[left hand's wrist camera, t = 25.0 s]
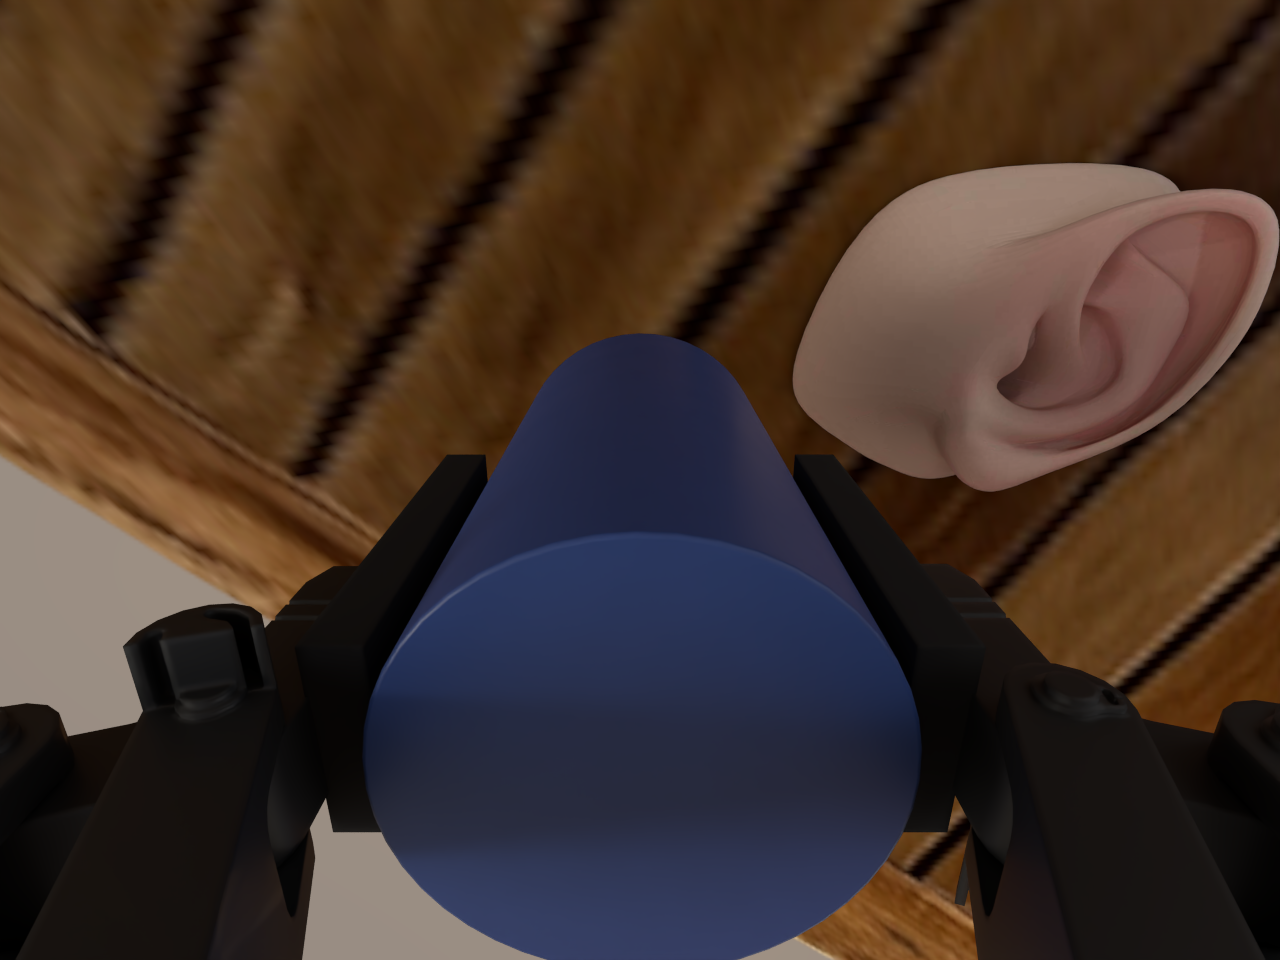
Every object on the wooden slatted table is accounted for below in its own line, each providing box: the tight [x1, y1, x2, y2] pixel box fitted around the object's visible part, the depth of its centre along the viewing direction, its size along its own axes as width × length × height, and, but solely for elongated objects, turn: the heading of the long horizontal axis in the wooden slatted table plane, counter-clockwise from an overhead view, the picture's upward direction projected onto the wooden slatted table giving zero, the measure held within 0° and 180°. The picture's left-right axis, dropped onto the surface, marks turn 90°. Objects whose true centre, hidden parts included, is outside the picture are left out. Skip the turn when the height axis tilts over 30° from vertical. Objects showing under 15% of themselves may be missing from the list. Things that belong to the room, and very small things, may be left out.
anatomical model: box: [793, 163, 1279, 491], centre depth 23 cm, size 13×4×12 cm
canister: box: [362, 334, 922, 960], centre depth 13 cm, size 6×6×12 cm
